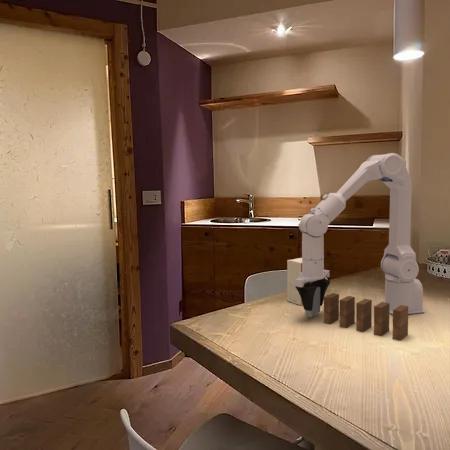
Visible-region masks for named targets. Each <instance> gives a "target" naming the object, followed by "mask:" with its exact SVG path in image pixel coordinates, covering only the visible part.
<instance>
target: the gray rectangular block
mask: <svg viewBox="0 0 450 450" xmlns="http://www.w3.org/2000/svg"><path fill="white" fill-rule="evenodd" d="M316 287H317V286H316ZM304 311H305V313H304V314H305V316H308V317H313V316H315V315H317V314H319V313H321V306H320V287H317V288H316V291H315V294H314V298H313V308H312V311H308V310H304Z"/></svg>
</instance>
